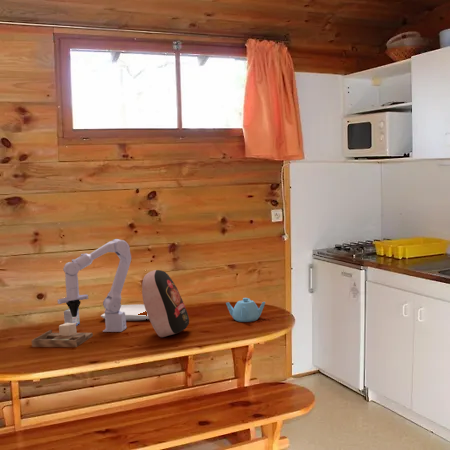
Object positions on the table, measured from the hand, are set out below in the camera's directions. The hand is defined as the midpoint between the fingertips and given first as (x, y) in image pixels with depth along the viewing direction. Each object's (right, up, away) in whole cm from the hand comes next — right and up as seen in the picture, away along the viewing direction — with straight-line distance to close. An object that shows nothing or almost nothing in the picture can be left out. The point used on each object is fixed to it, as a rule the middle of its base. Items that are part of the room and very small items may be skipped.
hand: (74, 316), depth 273 cm
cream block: (-3, -8, -1) cm, 8 cm away
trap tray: (-3, -10, -8) cm, 13 cm away
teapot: (+81, -5, +19) cm, 83 cm away
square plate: (+22, -6, +39) cm, 45 cm away
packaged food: (+44, -8, -4) cm, 45 cm away
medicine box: (-6, -8, +21) cm, 24 cm away
